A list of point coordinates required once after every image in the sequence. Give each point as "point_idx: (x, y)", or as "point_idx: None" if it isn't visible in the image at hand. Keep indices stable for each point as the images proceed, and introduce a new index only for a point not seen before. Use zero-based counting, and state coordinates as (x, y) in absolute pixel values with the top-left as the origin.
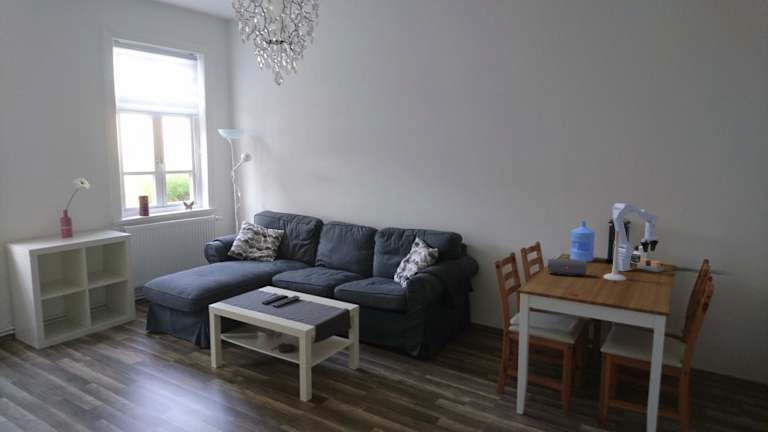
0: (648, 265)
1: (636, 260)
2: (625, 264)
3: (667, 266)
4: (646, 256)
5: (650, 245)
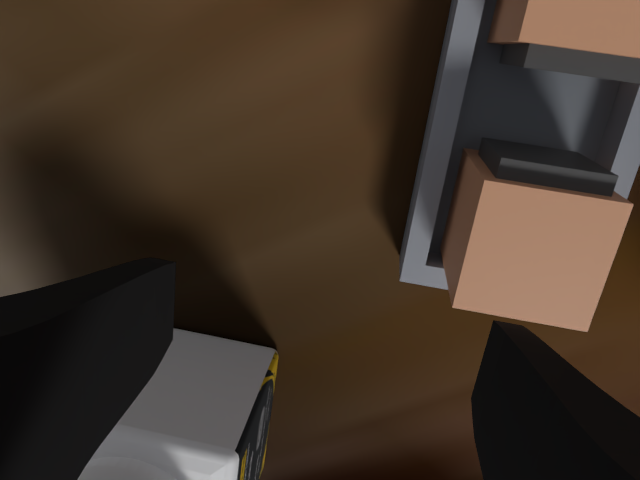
0: (523, 145)
1: (263, 425)
2: None
3: (68, 8)
4: None
5: (80, 468)
